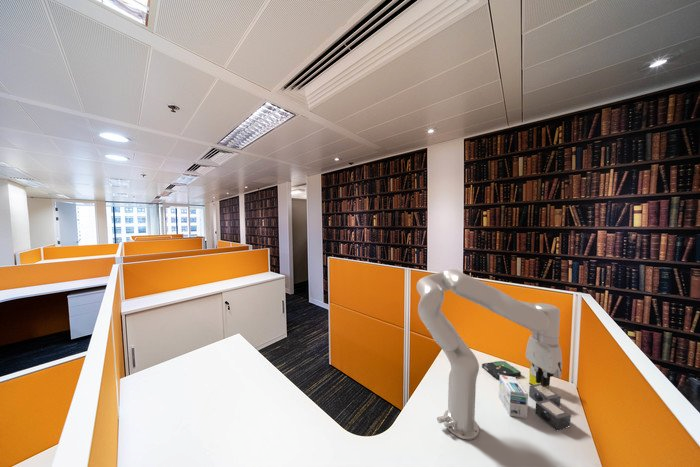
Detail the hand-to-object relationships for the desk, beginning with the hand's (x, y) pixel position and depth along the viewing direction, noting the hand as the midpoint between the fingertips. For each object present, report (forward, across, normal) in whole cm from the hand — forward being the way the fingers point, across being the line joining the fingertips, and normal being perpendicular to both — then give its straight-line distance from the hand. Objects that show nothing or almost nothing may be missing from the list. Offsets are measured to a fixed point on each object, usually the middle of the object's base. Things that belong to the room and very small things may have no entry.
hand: (542, 383), depth 86 cm
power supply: (+19, -10, +17) cm, 28 cm away
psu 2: (+19, -2, +10) cm, 22 cm away
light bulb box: (+19, -12, 0) cm, 23 cm away
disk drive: (+20, -32, +16) cm, 41 cm away
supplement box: (+19, -18, +25) cm, 37 cm away
